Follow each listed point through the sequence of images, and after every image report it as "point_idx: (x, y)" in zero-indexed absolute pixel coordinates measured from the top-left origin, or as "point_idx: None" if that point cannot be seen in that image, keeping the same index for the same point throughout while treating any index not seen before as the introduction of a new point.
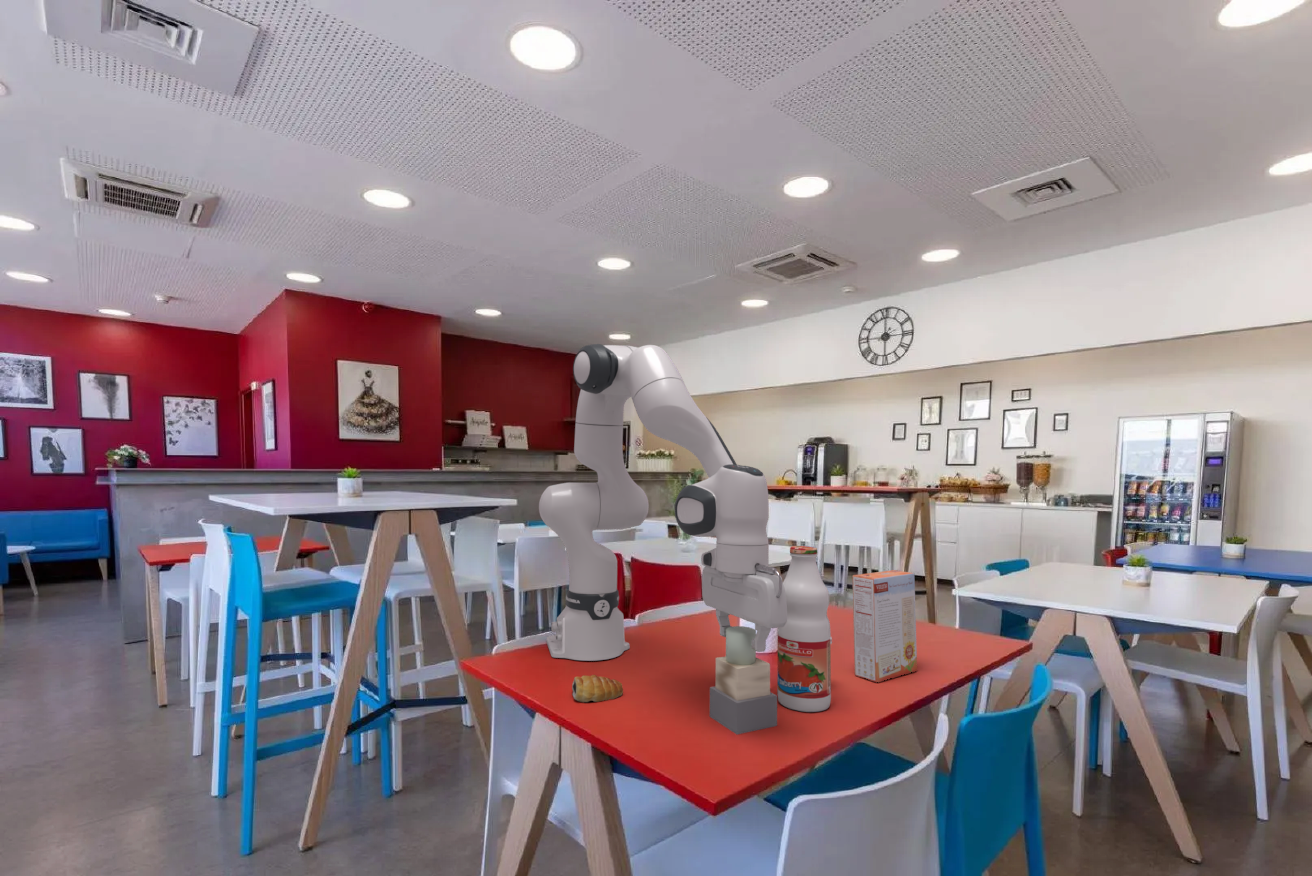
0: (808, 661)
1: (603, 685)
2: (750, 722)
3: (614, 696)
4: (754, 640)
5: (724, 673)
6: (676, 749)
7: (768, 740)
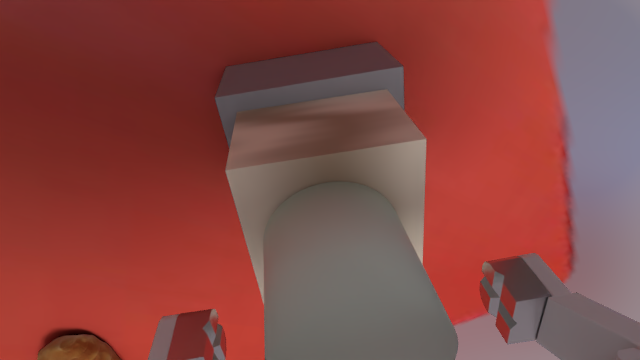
0: None
1: None
2: None
3: (109, 350)
4: (536, 339)
5: None
6: None
7: (445, 113)
